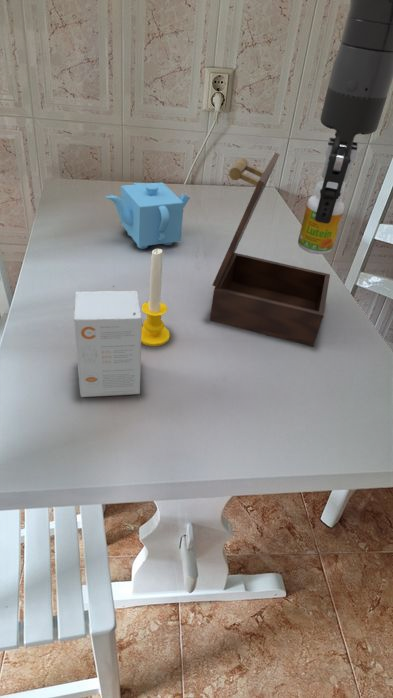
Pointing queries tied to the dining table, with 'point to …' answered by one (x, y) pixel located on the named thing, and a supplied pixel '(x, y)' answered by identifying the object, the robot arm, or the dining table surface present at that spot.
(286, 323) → the chest
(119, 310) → the small box
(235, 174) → the lid
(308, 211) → the supplement bottle
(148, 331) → the candle
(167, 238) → the teapot
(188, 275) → the dining table surface
